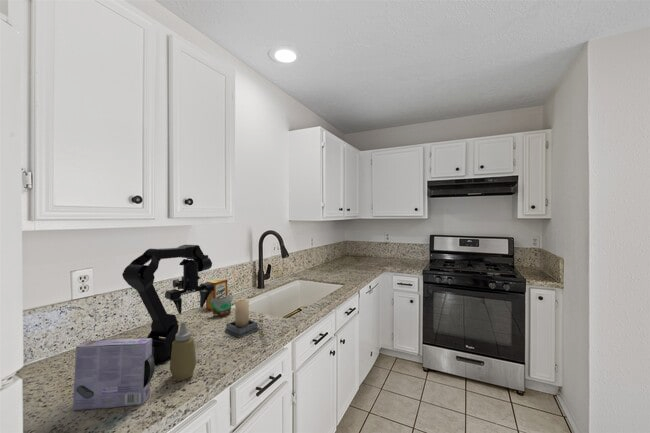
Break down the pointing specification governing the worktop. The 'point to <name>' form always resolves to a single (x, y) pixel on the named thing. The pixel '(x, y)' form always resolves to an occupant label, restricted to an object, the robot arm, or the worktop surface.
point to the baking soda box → (216, 291)
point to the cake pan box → (112, 373)
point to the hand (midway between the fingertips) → (190, 310)
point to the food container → (221, 306)
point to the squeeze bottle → (183, 355)
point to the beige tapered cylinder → (241, 313)
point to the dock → (241, 329)
